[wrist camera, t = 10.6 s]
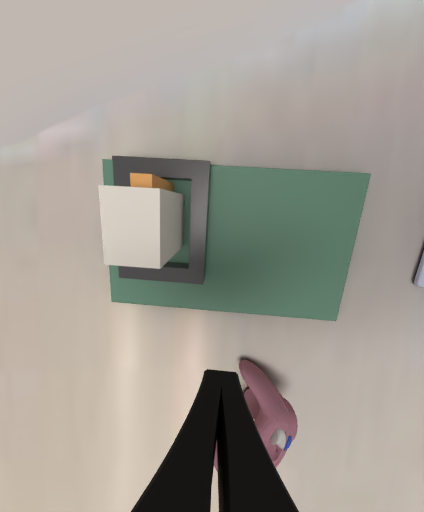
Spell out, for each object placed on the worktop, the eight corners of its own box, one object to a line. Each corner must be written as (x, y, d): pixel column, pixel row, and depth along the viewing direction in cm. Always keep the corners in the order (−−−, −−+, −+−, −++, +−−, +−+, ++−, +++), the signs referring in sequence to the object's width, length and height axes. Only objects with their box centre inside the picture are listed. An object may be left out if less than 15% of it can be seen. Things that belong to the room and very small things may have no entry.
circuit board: (361, 175, 16) (370, 173, 15) (330, 315, 19) (336, 321, 18) (109, 161, 17) (102, 159, 16) (117, 297, 20) (111, 301, 19)
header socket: (211, 165, 15) (209, 160, 14) (205, 278, 18) (203, 284, 16) (122, 160, 16) (112, 155, 14) (127, 271, 18) (118, 277, 16)
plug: (185, 184, 16) (159, 170, 10) (184, 245, 17) (160, 268, 11) (147, 181, 16) (97, 166, 10) (148, 242, 17) (104, 264, 11)
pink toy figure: (219, 415, 24) (246, 500, 19) (187, 416, 22) (207, 514, 16) (270, 359, 22) (319, 436, 16) (240, 353, 20) (285, 440, 14)
